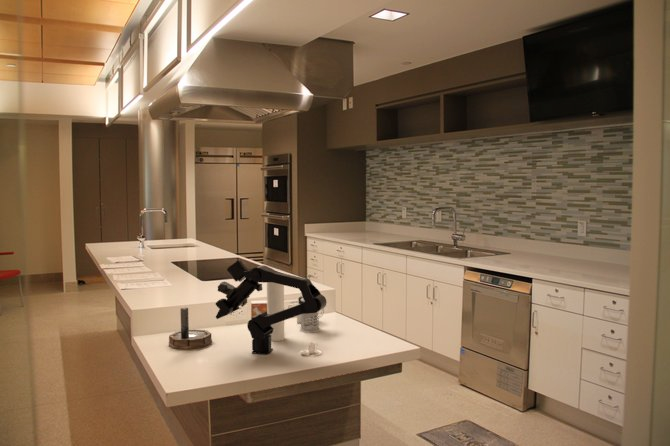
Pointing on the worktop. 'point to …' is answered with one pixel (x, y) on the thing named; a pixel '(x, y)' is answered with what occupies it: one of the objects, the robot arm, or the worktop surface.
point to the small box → (258, 307)
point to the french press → (310, 326)
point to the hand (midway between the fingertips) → (218, 317)
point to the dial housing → (190, 341)
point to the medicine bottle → (300, 315)
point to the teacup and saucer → (310, 349)
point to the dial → (187, 328)
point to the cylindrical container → (275, 308)
